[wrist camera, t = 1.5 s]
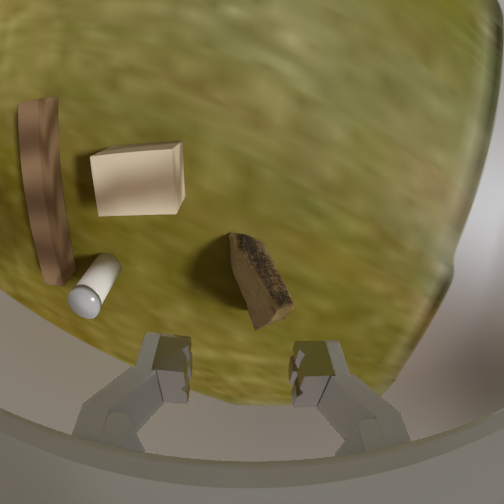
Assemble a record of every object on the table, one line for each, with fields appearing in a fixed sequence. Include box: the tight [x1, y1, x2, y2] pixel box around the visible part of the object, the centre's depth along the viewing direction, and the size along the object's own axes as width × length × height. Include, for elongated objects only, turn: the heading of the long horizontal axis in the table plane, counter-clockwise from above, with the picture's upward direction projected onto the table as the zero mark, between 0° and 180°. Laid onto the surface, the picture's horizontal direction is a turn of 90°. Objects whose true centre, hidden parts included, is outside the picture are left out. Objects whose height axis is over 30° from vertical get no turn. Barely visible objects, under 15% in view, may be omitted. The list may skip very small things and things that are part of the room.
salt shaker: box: [68, 253, 121, 319], centre depth 31 cm, size 4×4×8 cm
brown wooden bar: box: [18, 97, 76, 286], centre depth 28 cm, size 22×3×4 cm, turn 175°
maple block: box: [90, 141, 185, 216], centre depth 28 cm, size 6×8×5 cm
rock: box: [228, 233, 294, 331], centre depth 34 cm, size 11×9×10 cm
